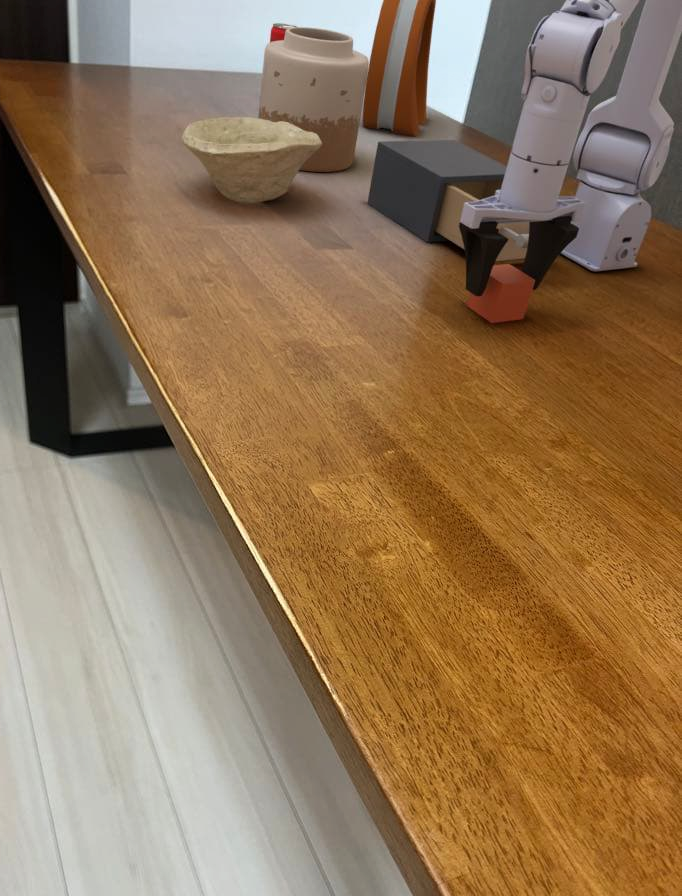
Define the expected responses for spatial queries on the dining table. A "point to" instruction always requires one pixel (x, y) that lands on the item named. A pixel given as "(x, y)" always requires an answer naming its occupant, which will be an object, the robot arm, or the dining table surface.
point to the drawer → (473, 192)
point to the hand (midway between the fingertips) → (501, 289)
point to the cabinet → (424, 180)
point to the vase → (316, 91)
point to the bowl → (250, 155)
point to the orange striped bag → (399, 67)
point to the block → (503, 295)
